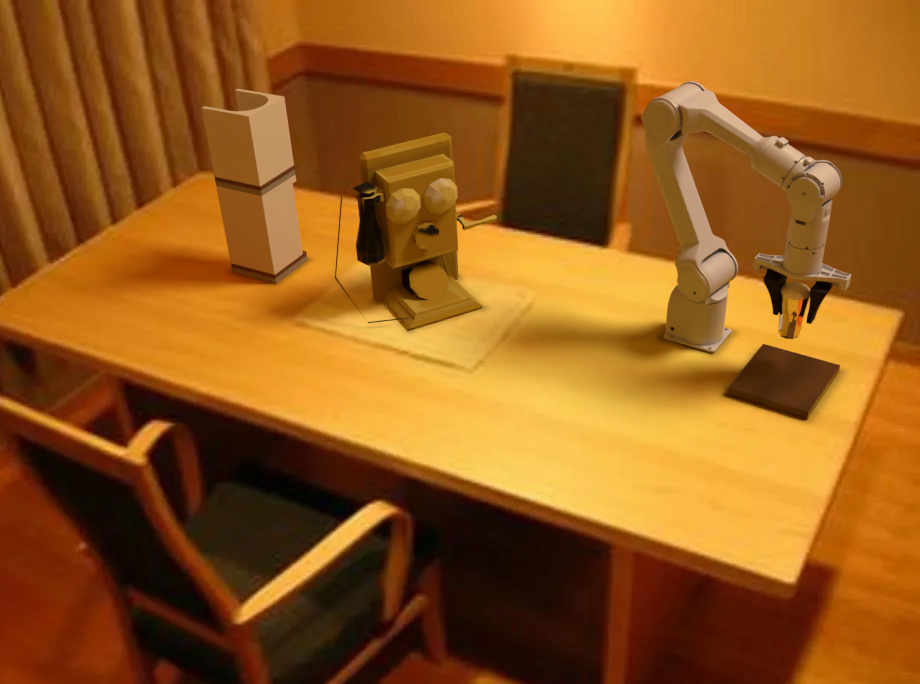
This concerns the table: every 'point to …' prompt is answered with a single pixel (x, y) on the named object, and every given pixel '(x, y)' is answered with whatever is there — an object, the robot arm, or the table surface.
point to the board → (784, 381)
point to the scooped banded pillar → (256, 185)
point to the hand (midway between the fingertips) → (794, 316)
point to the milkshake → (792, 309)
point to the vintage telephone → (412, 230)
